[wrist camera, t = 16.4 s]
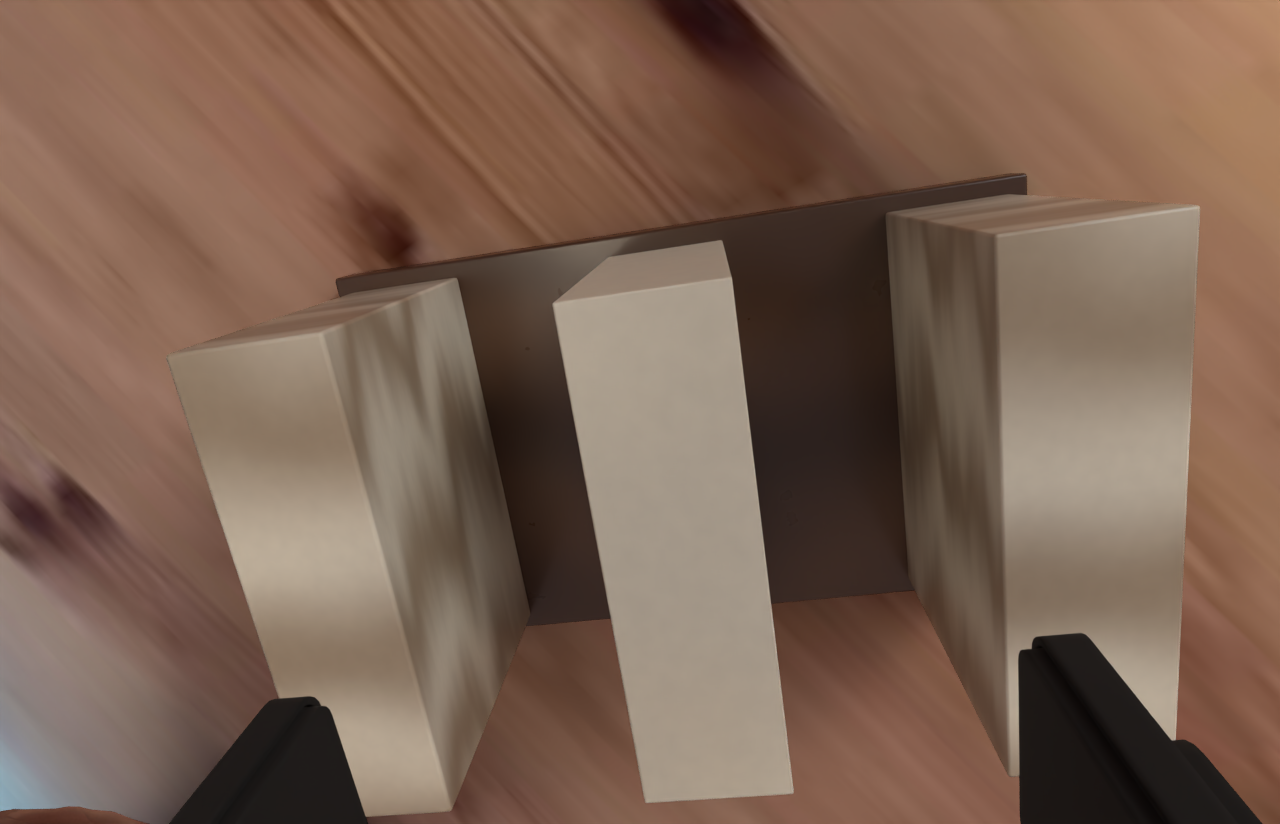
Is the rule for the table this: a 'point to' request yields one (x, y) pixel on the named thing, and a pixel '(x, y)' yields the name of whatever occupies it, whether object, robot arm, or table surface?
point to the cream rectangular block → (678, 519)
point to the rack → (781, 441)
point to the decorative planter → (64, 816)
